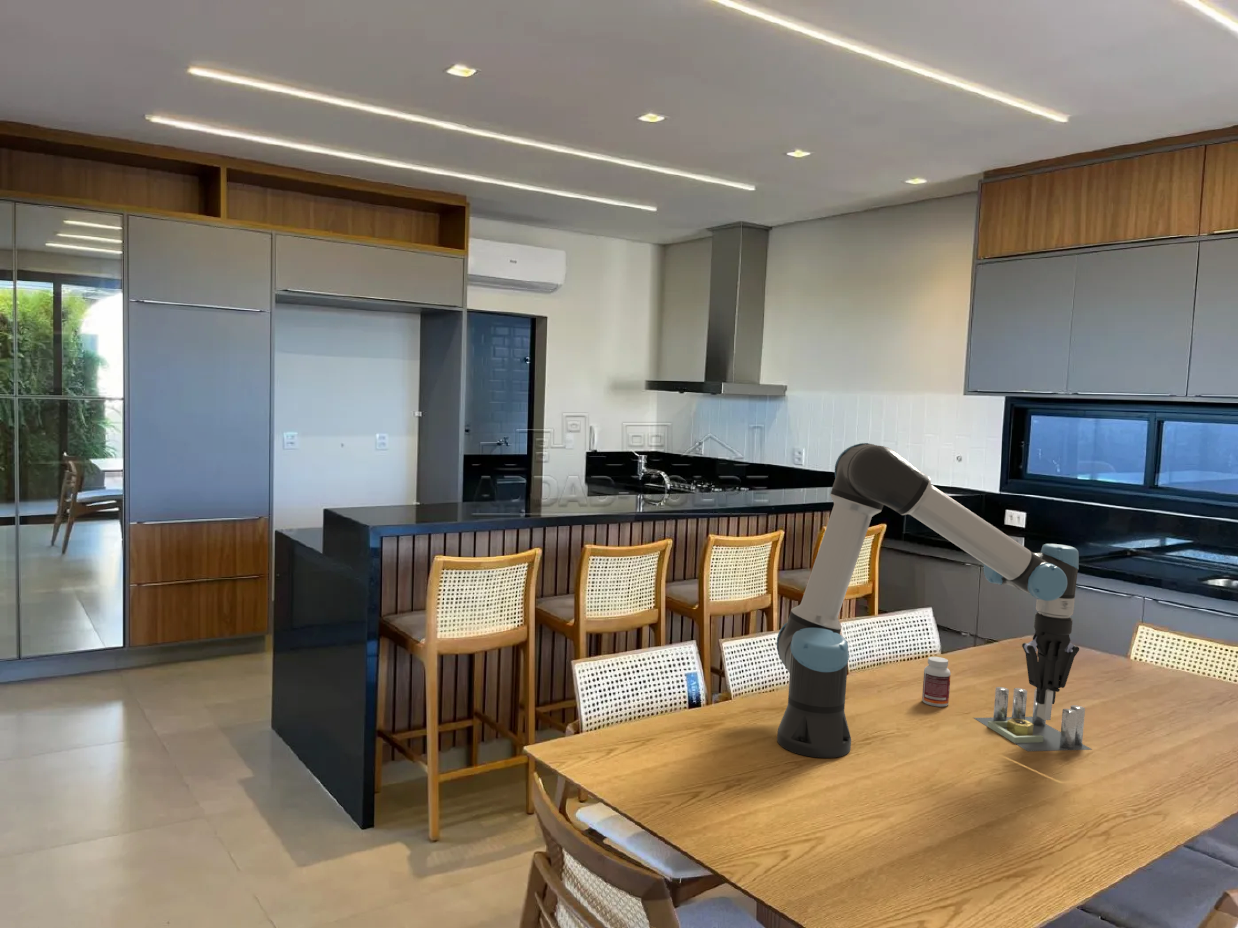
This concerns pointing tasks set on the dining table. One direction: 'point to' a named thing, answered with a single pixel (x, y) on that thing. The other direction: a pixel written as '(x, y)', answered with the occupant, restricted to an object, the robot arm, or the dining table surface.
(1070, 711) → the spacer posts
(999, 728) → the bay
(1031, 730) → the nut
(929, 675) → the pill bottle
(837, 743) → the robot arm
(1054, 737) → the mat
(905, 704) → the dining table surface
